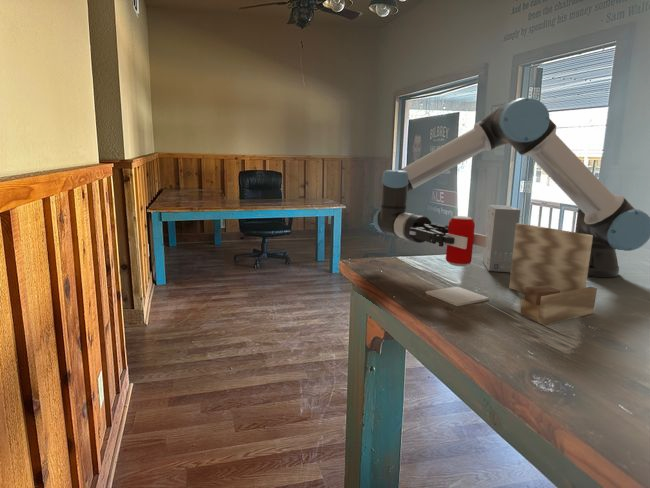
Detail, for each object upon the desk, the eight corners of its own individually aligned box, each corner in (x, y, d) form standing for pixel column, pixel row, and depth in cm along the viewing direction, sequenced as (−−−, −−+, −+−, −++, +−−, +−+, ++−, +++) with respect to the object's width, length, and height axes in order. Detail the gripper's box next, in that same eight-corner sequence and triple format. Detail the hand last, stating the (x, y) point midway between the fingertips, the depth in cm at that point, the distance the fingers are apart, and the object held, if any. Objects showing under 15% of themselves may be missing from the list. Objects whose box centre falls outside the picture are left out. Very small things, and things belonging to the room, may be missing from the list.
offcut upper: (524, 299, 104) (525, 287, 103) (546, 298, 105) (548, 286, 105) (535, 305, 100) (537, 292, 100) (558, 303, 101) (560, 291, 101)
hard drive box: (514, 273, 141) (521, 210, 137) (488, 271, 142) (494, 208, 138) (504, 262, 156) (511, 204, 152) (481, 261, 157) (487, 203, 153)
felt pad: (457, 288, 123) (457, 286, 123) (489, 300, 113) (489, 297, 113) (426, 293, 118) (426, 291, 117) (456, 306, 108) (457, 303, 108)
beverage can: (475, 267, 112) (480, 219, 109) (452, 267, 110) (456, 219, 108) (463, 261, 117) (467, 215, 115) (441, 261, 116) (445, 215, 114)
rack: (464, 295, 117) (471, 226, 113) (512, 287, 125) (519, 223, 122) (544, 325, 97) (554, 243, 94) (594, 312, 106) (605, 237, 102)
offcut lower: (519, 314, 104) (521, 300, 103) (539, 310, 107) (541, 296, 107) (539, 321, 100) (541, 306, 99) (558, 317, 103) (560, 302, 102)
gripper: (437, 238, 133) (501, 254, 114) (385, 242, 124) (445, 261, 104) (440, 213, 132) (505, 225, 112) (387, 215, 123) (447, 229, 103)
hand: (476, 242), depth 108 cm, fingers closed on beverage can, 6 cm apart
